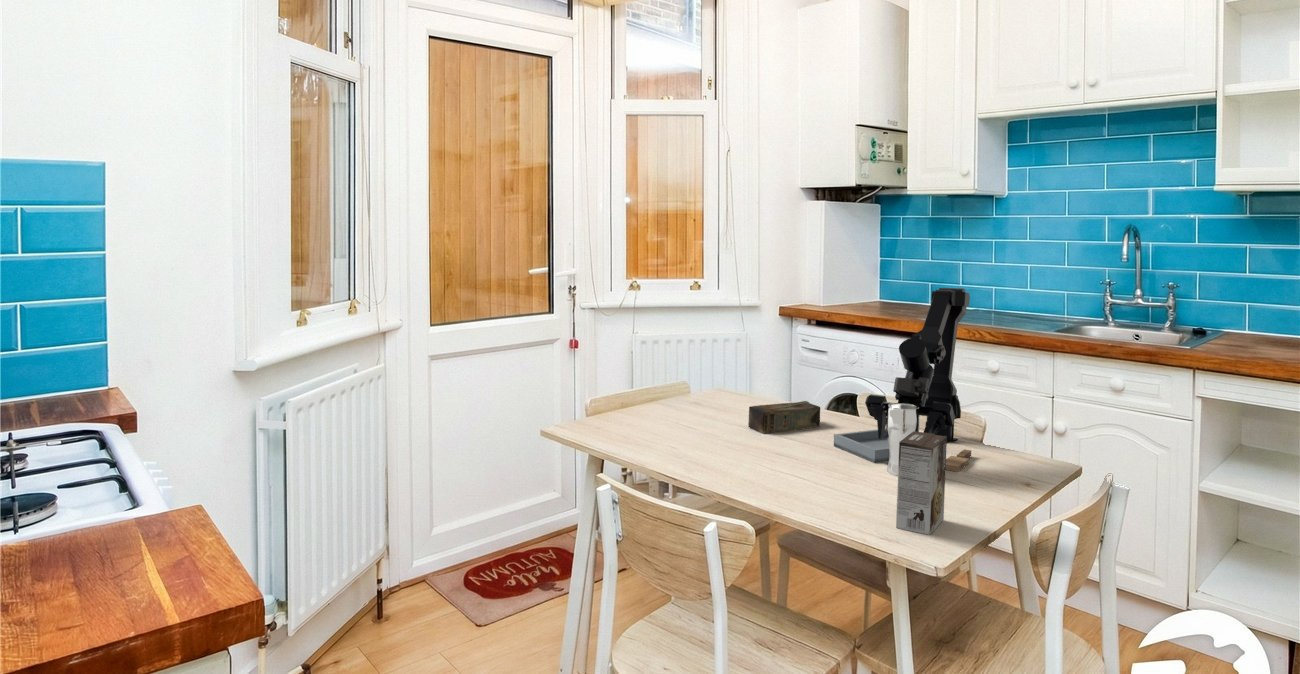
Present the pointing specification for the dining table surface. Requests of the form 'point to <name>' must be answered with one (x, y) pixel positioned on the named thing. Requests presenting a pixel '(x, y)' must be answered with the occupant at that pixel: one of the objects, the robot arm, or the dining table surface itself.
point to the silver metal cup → (899, 429)
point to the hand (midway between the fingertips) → (900, 441)
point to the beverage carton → (783, 416)
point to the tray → (864, 445)
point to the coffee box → (921, 482)
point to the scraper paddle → (958, 461)
